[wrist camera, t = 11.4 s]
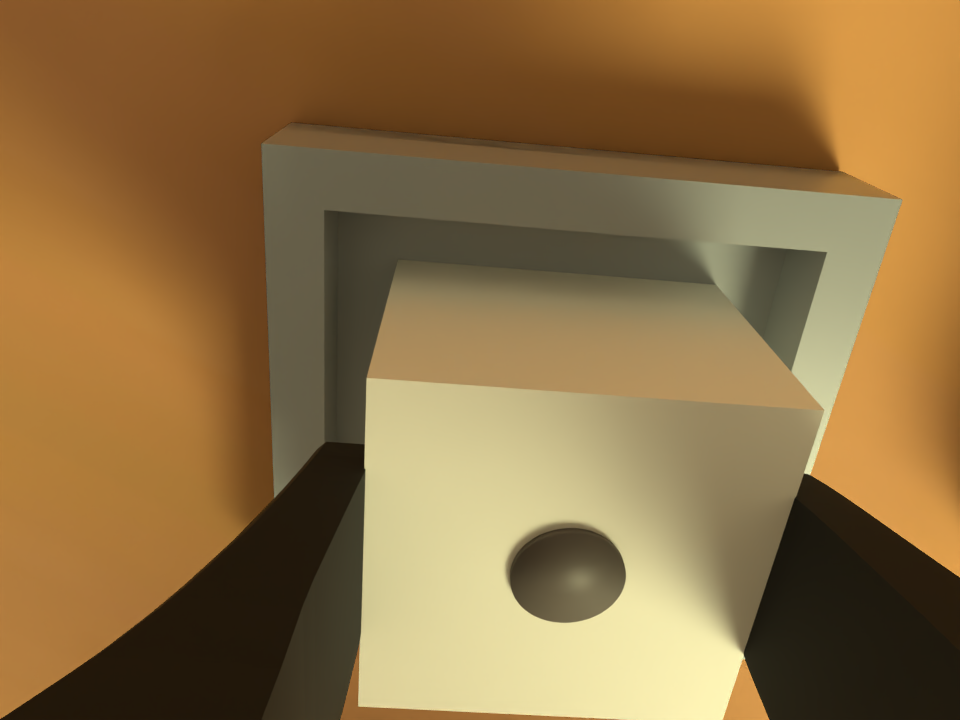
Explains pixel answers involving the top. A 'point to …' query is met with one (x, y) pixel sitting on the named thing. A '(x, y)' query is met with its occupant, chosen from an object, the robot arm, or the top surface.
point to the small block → (569, 493)
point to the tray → (543, 249)
